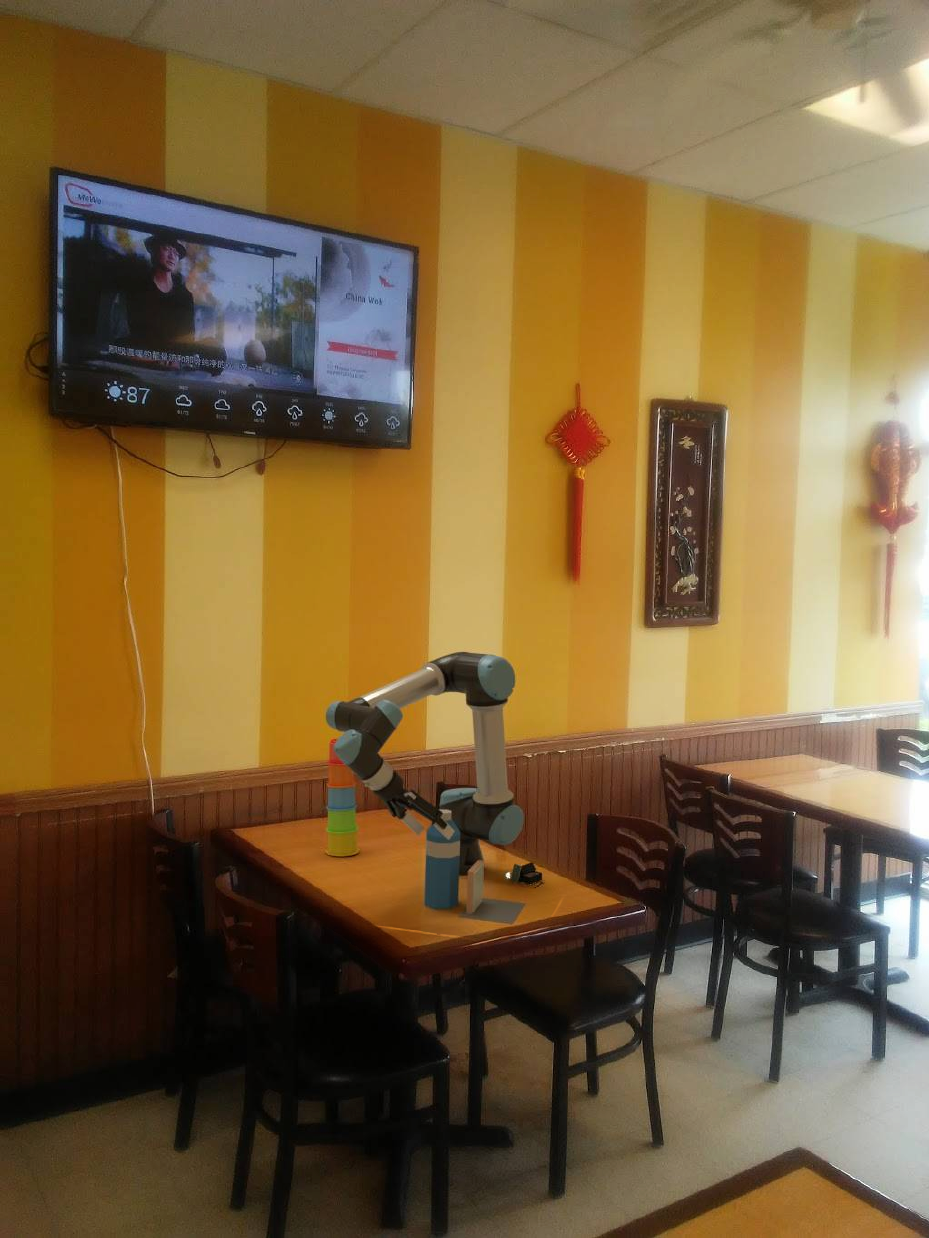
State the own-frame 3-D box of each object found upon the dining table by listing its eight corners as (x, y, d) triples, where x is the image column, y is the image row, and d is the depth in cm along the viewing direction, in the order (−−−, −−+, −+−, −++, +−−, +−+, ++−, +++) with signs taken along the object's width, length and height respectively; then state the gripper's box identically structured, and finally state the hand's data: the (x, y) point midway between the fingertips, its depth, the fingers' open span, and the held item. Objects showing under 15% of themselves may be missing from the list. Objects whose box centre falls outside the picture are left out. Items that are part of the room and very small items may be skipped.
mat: (474, 899, 273) (475, 896, 273) (526, 905, 269) (526, 903, 269) (458, 919, 258) (458, 916, 258) (512, 926, 254) (512, 923, 254)
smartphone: (522, 870, 301) (523, 851, 301) (565, 881, 292) (565, 862, 291) (491, 881, 290) (491, 862, 289) (534, 894, 280) (535, 874, 280)
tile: (476, 901, 270) (478, 860, 269) (483, 901, 269) (484, 860, 269) (466, 913, 260) (467, 871, 260) (472, 914, 260) (474, 871, 259)
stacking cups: (328, 858, 305) (331, 743, 303) (322, 848, 315) (325, 737, 312) (362, 856, 308) (365, 742, 306) (355, 846, 318) (358, 736, 316)
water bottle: (418, 908, 264) (420, 813, 263) (430, 897, 273) (433, 805, 272) (452, 913, 262) (455, 817, 260) (463, 902, 270) (466, 809, 269)
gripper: (348, 790, 263) (400, 841, 271) (402, 793, 243) (456, 849, 251) (365, 767, 267) (416, 818, 275) (419, 769, 247) (472, 824, 255)
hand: (435, 833), depth 263 cm, fingers open, 13 cm apart
